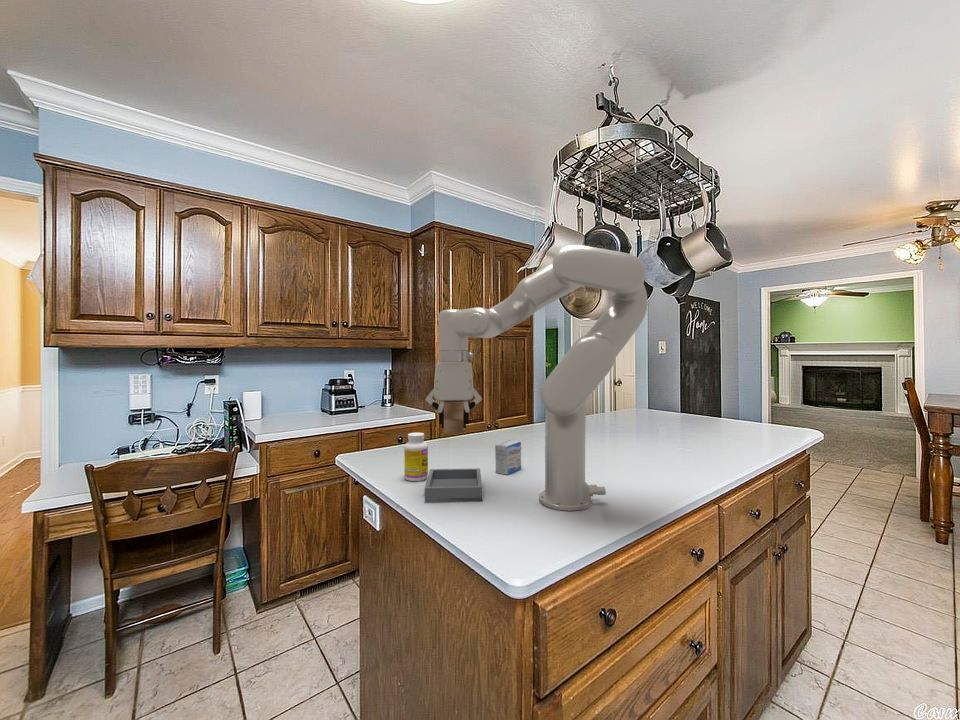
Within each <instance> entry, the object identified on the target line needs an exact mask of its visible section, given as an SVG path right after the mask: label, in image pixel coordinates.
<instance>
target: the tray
mask: <svg viewBox="0 0 960 720" xmlns="http://www.w3.org/2000/svg"><path fill="white" fill-rule="evenodd" d="M429 502H430V503H470V502H471V503H472V502H473V503H477V502H479V503H480V502H483V483H482V474H481V468H476V467H475V468H431V469H429V470H428V477H427V478H426V481H425V486H424V503H425V504H426V503H429Z"/></svg>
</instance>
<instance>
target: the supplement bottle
mask: <svg viewBox="0 0 960 720" xmlns="http://www.w3.org/2000/svg"><path fill="white" fill-rule="evenodd" d="M407 439H408V442H406V443H405V444H404V447H403V448H404V449H403V450H404V479H405V480H406V481H409V482H422V481H424V480H427V478H428V475H429V466H428V465H429V458H428V457H429V453H428V452H429V451H428V450H429V447H428V443H427V442H425V441H424V439H425V433H424V432H410V433H408V434H407Z"/></svg>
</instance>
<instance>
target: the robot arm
mask: <svg viewBox="0 0 960 720" xmlns="http://www.w3.org/2000/svg"><path fill="white" fill-rule="evenodd" d="M646 275H647V273H646V266H645V265H644V262H643V261H642V260H641V259H640V258H638V256H635V255H634V254H631V253H627V252H622V251H619V250H618V251H617V250H612V249H606V248H599V247H595V246H589V245H585V244H584V245H583V244H578V243H577V244H567V245H564V246H563V247H561V248H559V250H558V251H556V253H555V254H554V256H553V259H552V262H550V263H548V264H546V265H544V266H543V267H541V268H540V269H538V270H537V271H535V272H532V273H531V274H529V275H527V276H526V277H524V278H522V279H521V280H520V281H519V283H518V284H517V285H516V287H515V289H514V291H512V293H511V294H510V295H509V296H507V297H506V298H505V299H503V300H502V301H500V302H499V303H497V304H495V305H494V306H492V307H490V308H484V307H480V306H478V307H477V306H476V307H471V308H465V309H457V308H456V309H455V308H454V309H443V310H441V311H440V312H439V314H438V362H436V364H435V371H434V380H433V381H434V383H433V384H434V385H433V388H432V390H431V391H430V392H429V394H428V395H427V396H426V398H425V399H424V400H425V401H426V402H427V403H428V404H430V405H431V406H432V407H433V408H434V409H435V410H436V411H437V412H438V425H441V429H444V401H463V411H464V412H463V421H464V429H466V428H467V425H469V424H470V423H469V422H470V421H469V419H470V418H469V415H470V414H469V413H470V411H471V410H472V409H473V408H474V407H475V406H476V405H478V404H479V403H480V402H481V401H482V400H483V398H482V396H481V394H480V393H479V392H478V391H477V390H476V389H475V388H474V380H473V377H474V376H473V368H472V363H471V362H469V360H470V359H474V352H470V351H469V344H468V343H469V337H471V338H472V337H473V338H480V339H483V338H484V339H492V338H495V337H496V336H498V335H501V334H502V333H504V332H506V331H508V330H510V329H511V328H514V326H517V325H518V324H521V322H523V321H524V320H526V319H528V318H529V317H530V316H533V315H534V314H535V313H537V312H538V311H540V310H542V309H544V307H547V306H549V305H550V304H552V303H554V302H556V301H558V300H560V298H563V297H565V296H566V295H568V294H570V293H572V292H574V291H575V290H577V289H580V287H582V286H585V287H588V288H593V289H597V290H603V291H606V292H607V294H608V295H609V303H608V305H607V307H606V308H605V310H604V311H603V312H602V313H601V314H600V316H599V317H598V319H597V321H596V322H595V323H594V324H593V326H592V327H591V328H590V329H589V330H588V331H587V333H586V334H584V335H583V336H581V337H579V338H578V339H577V340H576V341H575V342H574V343H573V344H572V345H571V346H570V348H569V349H568V350H567V352H566V353H565V354H564V355H563V357H562V358H561V360H559V362H558V363H557V364H556V365H555V367H554V369H553V370H552V371H551V372H550V373H549V374H548V376H547V377H546V379H544V381H543V383H542V384H541V388H540V393H539V394H540V396H539V397H540V401H541V404H542V405H543V407H544V408H545V423H544V425H545V426H544V428H545V429H544V433H545V434H544V458H545V459H544V463H545V464H544V490H542V491H541V492H540V493H539V494H538V502H540V504H542V506H545V507H548V508H550V509H553V510H557V511H581V510H585V509H587V508H589V507H591V506H592V503H593V498H592V497H593V495H594V496H596V495H597V496H605V495H606V494H607V493H606V492H607V490H606V487H605V486H598V485H597V484H588V483H587V482H586V414H587V413H586V410H587V399H588V398H589V397H590V396H591V395H592V394H593V392H594V391H595V390H596V389H597V387H598V386H600V384H601V383H602V381H603V380H604V379H605V377H606V376H607V375H608V374H609V372H611V370H612V368H613V366H614V365H615V363H616V358H617V357H618V355H619V354H620V353H621V351H622V350H623V349H624V348H625V346H626V345H627V344H628V342H629V341H630V339H631V338H632V336H633V335H634V334H635V333H636V331H637V330H638V329H639V328H640V325H642V323H643V321H644V319H645V317H646V313H647V311H648V310H647V309H648V293H647V288H646V287H645V284H644V283H645V280H646ZM473 397H474V399H473ZM472 399H473V400H472ZM468 401H471V402H468ZM438 402H439V403H438Z"/></svg>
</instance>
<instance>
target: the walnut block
mask: <svg viewBox="0 0 960 720" xmlns="http://www.w3.org/2000/svg"><path fill="white" fill-rule="evenodd" d="M443 409H444V428H443V434H464V430H465V428H464V421H463V412H464V405H463V401H444V407H443Z"/></svg>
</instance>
